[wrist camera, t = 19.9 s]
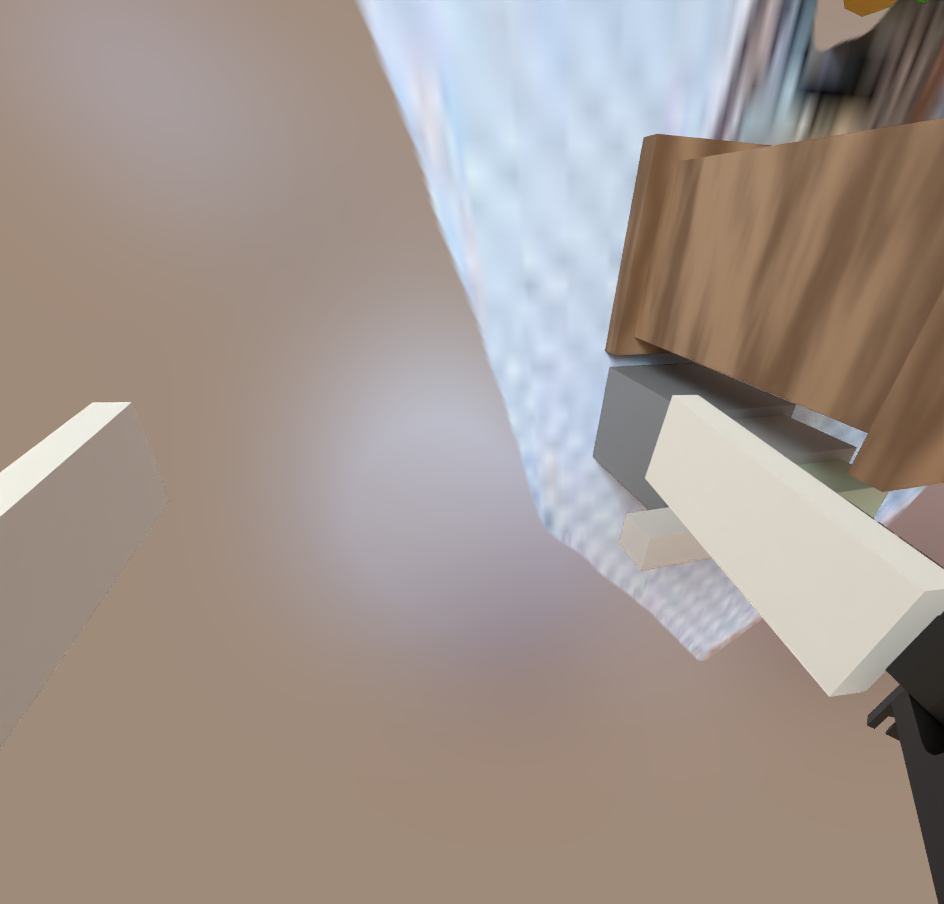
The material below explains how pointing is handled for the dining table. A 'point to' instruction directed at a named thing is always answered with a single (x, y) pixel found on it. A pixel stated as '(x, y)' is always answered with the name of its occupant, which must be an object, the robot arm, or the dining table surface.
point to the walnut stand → (801, 279)
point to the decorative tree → (870, 5)
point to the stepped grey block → (651, 388)
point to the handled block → (670, 542)
